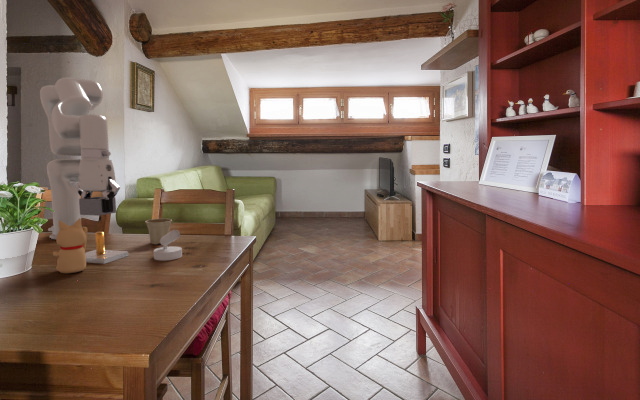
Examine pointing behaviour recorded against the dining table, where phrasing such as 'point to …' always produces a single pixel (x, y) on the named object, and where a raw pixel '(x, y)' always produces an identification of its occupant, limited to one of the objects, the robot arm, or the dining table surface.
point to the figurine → (71, 247)
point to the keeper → (103, 252)
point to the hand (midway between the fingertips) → (98, 211)
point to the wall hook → (165, 251)
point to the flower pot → (158, 229)
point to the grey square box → (94, 206)
